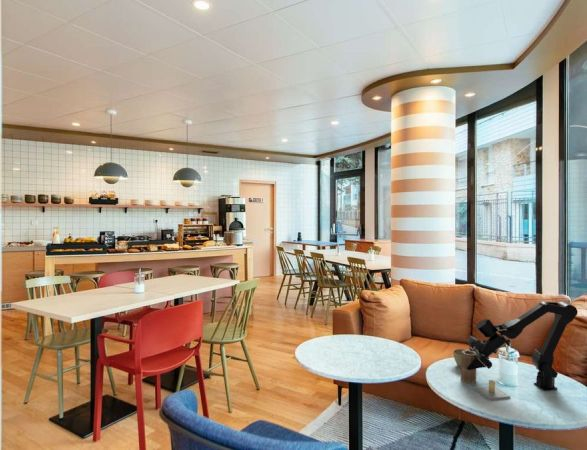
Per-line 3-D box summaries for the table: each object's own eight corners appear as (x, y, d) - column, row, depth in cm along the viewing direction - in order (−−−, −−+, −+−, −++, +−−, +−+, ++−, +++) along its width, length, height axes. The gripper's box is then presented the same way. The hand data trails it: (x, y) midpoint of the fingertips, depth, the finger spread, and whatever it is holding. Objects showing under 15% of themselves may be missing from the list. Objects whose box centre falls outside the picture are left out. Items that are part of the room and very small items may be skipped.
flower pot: (448, 363, 199) (448, 350, 198) (464, 361, 202) (464, 347, 201) (462, 372, 189) (462, 357, 189) (478, 369, 192) (479, 355, 192)
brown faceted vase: (470, 376, 184) (470, 349, 183) (478, 382, 178) (479, 354, 177) (458, 377, 183) (459, 350, 182) (466, 383, 177) (467, 355, 176)
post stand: (493, 387, 174) (494, 375, 174) (510, 398, 164) (510, 385, 164) (473, 389, 172) (474, 377, 172) (489, 400, 162) (489, 388, 162)
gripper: (473, 324, 187) (448, 345, 190) (485, 338, 169) (457, 361, 172) (491, 342, 186) (465, 362, 189) (504, 357, 168) (475, 380, 171)
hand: (465, 366), depth 180 cm, fingers closed on brown faceted vase, 6 cm apart
